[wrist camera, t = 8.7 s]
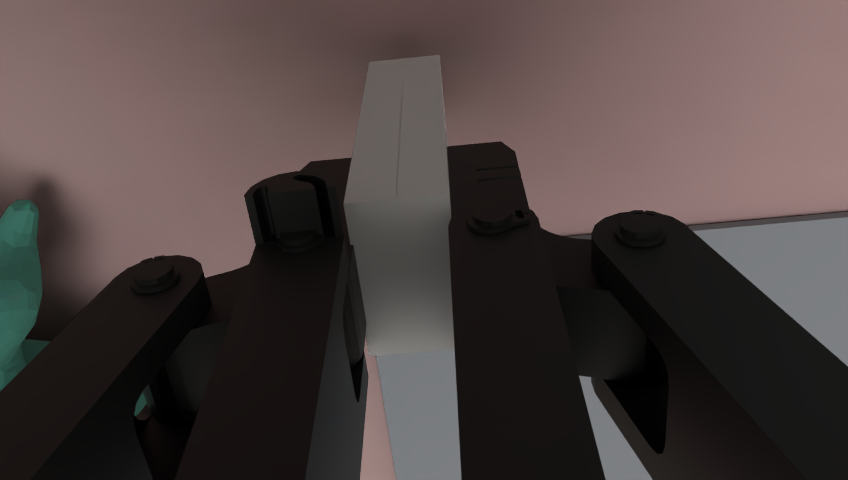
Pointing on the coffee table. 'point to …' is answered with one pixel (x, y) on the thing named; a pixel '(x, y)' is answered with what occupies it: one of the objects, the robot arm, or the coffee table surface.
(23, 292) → the toy
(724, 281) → the robot arm
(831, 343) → the mat
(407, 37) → the coffee table surface
